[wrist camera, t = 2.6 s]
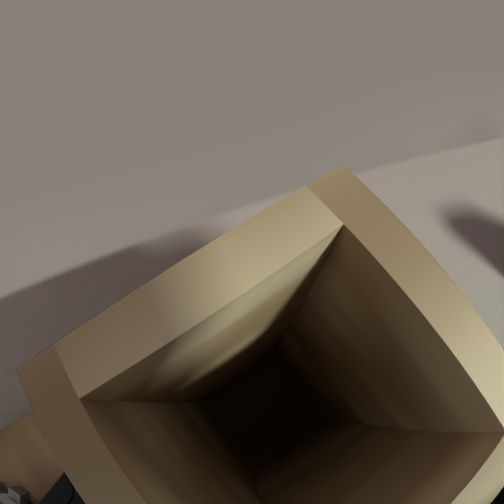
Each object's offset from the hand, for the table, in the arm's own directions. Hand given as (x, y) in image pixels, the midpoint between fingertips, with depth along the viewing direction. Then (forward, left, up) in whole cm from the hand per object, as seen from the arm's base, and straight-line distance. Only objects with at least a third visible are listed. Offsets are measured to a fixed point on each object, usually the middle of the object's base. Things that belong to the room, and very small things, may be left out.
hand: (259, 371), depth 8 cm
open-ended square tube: (-1, 0, -5) cm, 6 cm away
